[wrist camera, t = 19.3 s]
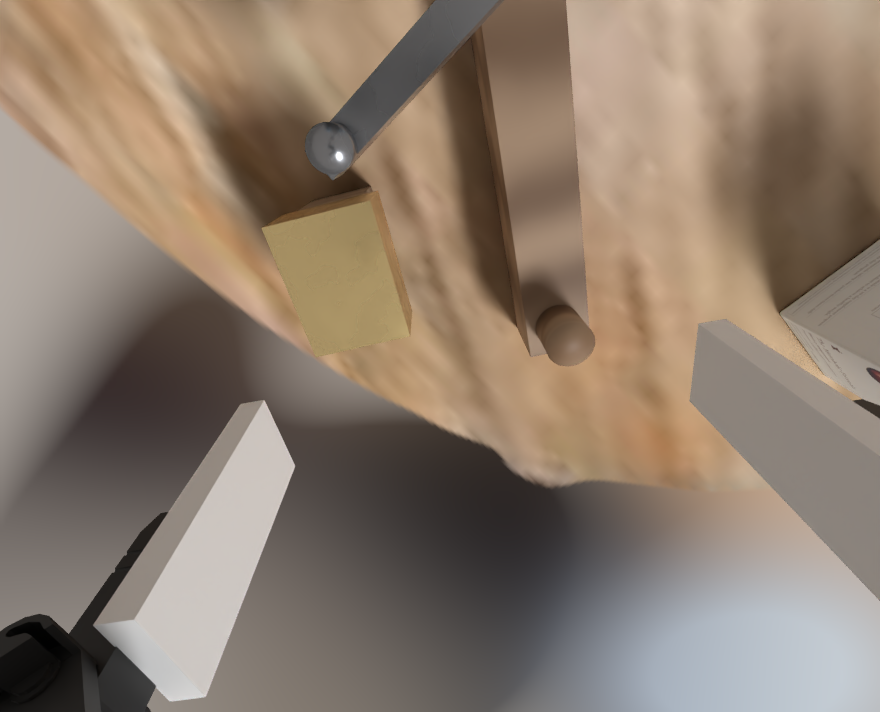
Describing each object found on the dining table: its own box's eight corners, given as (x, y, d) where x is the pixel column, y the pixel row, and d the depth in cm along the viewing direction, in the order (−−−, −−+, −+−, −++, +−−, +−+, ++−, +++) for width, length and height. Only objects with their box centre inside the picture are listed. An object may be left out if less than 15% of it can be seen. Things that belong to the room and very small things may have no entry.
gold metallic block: (283, 214, 26) (261, 228, 22) (377, 190, 26) (370, 200, 22) (329, 330, 30) (315, 357, 26) (412, 311, 29) (410, 336, 26)
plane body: (462, -15, 24) (481, -88, 16) (535, -36, 24) (592, -122, 16) (517, 327, 34) (545, 390, 26) (569, 316, 34) (614, 375, 26)
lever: (551, -153, 15) (584, -229, 12) (596, -68, 16) (638, -116, 13) (304, 134, 19) (280, 135, 16) (354, 187, 20) (341, 198, 17)
